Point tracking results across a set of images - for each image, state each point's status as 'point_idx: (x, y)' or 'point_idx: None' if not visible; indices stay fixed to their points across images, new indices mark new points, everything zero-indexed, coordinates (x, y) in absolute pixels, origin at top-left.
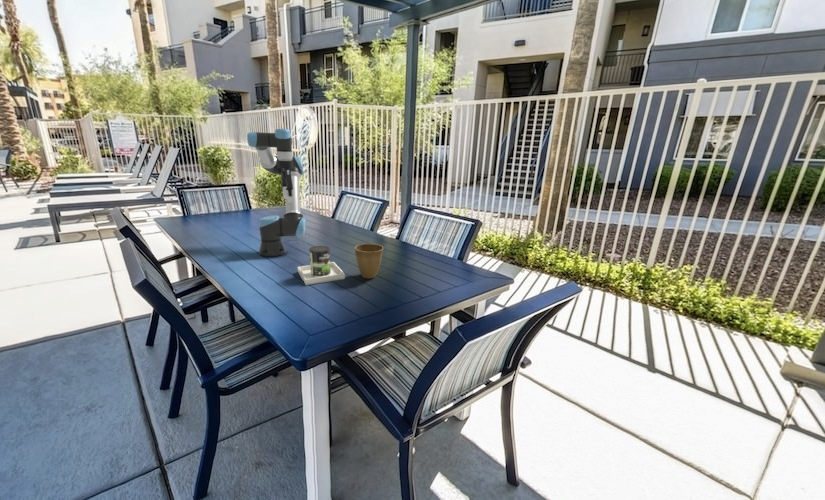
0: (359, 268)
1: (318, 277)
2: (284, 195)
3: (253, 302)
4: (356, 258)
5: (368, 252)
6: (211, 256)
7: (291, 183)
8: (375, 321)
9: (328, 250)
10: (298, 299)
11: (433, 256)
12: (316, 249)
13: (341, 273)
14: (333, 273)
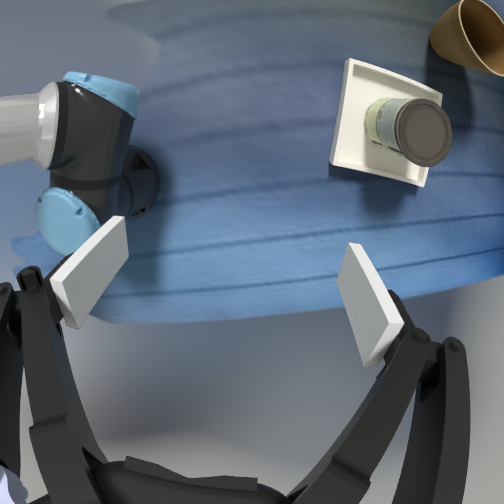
0: (456, 63)
1: None
2: (116, 264)
3: (412, 282)
4: (467, 64)
5: None
6: (115, 301)
7: (463, 395)
8: None
9: (447, 117)
10: (453, 221)
11: None
12: (425, 144)
13: (425, 90)
14: (401, 96)
